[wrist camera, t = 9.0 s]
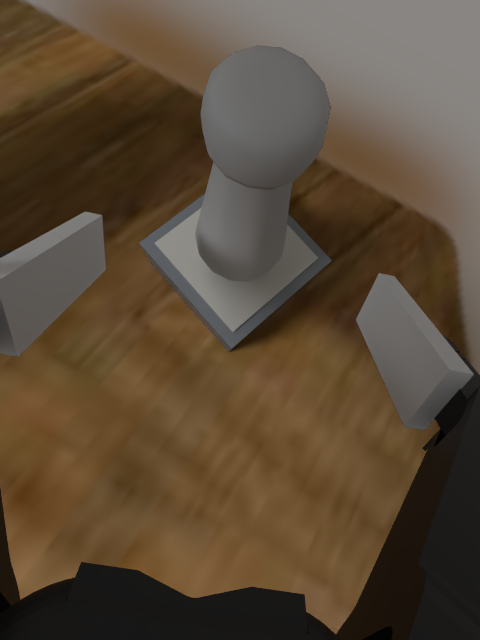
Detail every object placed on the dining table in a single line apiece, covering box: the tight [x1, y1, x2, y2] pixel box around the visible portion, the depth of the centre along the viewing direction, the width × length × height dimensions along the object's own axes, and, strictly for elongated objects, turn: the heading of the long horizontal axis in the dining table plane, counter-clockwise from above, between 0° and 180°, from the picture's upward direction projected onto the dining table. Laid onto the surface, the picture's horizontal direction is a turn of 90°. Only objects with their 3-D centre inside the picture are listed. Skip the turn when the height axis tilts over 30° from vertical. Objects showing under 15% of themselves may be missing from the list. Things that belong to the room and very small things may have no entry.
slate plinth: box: [139, 194, 332, 352], centre depth 24 cm, size 10×10×4 cm
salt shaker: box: [195, 46, 331, 281], centre depth 16 cm, size 6×6×13 cm
